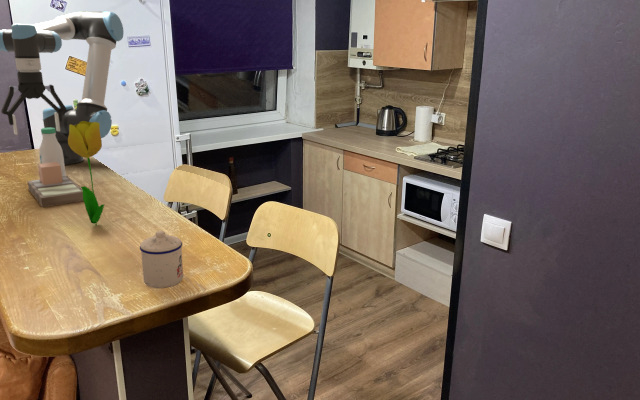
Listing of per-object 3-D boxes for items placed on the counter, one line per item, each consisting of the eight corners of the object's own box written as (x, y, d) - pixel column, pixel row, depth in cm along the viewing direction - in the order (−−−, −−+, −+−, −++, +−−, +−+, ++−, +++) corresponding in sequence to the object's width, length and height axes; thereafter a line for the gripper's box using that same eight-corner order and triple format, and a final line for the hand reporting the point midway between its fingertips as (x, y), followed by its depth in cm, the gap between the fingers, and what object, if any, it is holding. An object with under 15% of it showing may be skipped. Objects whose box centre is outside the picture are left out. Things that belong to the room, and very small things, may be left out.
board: (28, 189, 187) (27, 180, 186) (68, 183, 194) (67, 175, 193) (42, 207, 168) (41, 197, 167) (85, 200, 176) (84, 191, 175)
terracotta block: (40, 180, 185) (37, 164, 184) (58, 178, 189) (56, 162, 187) (43, 184, 181) (41, 167, 179) (62, 182, 184) (60, 165, 182)
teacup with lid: (187, 285, 119) (185, 236, 115) (145, 292, 115) (141, 241, 112) (178, 264, 129) (175, 218, 126) (139, 270, 126) (134, 223, 122)
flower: (117, 222, 156) (107, 120, 147) (99, 231, 149) (87, 124, 140) (92, 219, 159) (80, 118, 150) (73, 228, 151) (59, 122, 142)
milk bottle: (71, 181, 198) (64, 127, 192) (56, 186, 191) (49, 130, 185) (53, 179, 200) (46, 126, 194) (38, 184, 192) (30, 129, 187)
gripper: (-12, 72, 173) (-2, 137, 179) (70, 71, 188) (77, 131, 194) (-15, 71, 179) (-5, 133, 185) (65, 69, 194) (72, 128, 200)
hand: (37, 132), depth 190 cm, fingers open, 13 cm apart
